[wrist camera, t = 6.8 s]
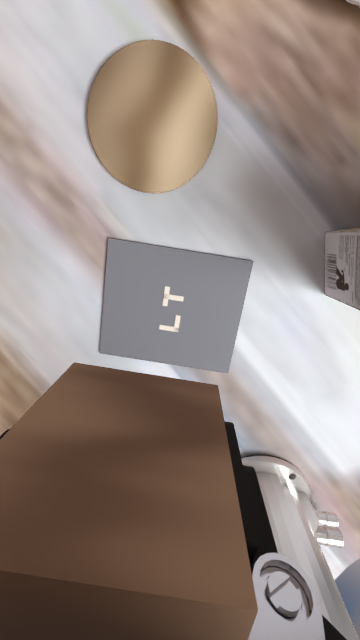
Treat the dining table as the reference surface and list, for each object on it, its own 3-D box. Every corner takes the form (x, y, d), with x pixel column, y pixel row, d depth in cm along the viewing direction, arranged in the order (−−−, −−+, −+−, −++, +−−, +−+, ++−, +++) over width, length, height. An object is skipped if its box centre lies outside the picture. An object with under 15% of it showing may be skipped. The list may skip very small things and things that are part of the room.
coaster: (228, 55, 22) (229, 52, 22) (204, 201, 25) (204, 201, 25) (93, 33, 22) (91, 29, 22) (85, 182, 25) (83, 182, 25)
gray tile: (252, 261, 26) (253, 261, 26) (227, 372, 30) (227, 373, 30) (108, 238, 26) (108, 238, 26) (100, 352, 30) (99, 353, 30)
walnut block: (217, 385, 9) (257, 610, 4) (193, 496, 11) (196, 784, 5) (74, 362, 9) (-109, 552, 4) (68, 476, 11) (-70, 743, 5)
